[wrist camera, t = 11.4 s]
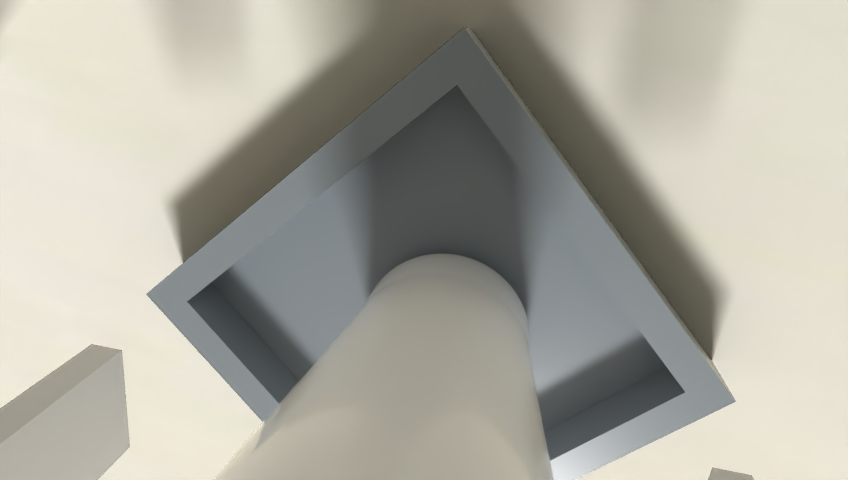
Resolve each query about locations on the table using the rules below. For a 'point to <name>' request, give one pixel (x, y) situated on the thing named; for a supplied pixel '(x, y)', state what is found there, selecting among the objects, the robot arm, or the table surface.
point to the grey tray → (455, 234)
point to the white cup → (413, 388)
